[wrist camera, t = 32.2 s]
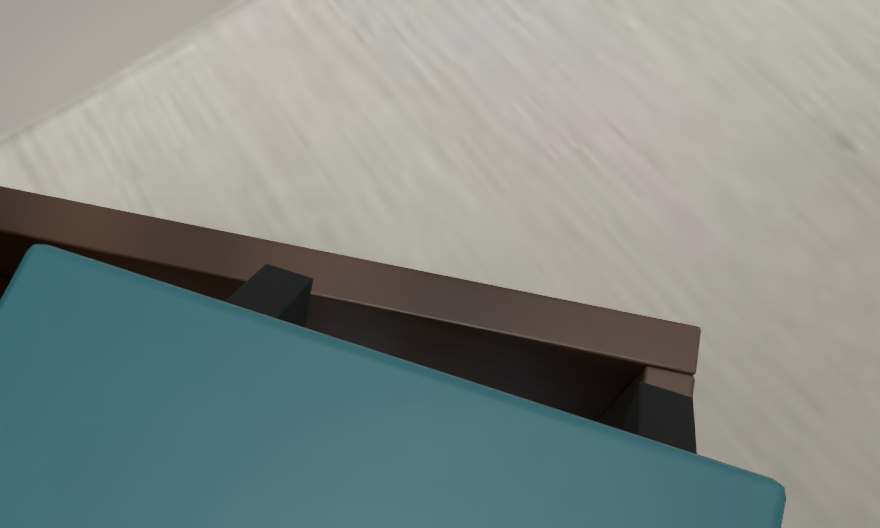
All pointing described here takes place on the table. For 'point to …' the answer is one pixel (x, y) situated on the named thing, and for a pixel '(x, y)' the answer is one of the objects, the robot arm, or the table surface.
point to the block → (298, 427)
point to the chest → (387, 307)
